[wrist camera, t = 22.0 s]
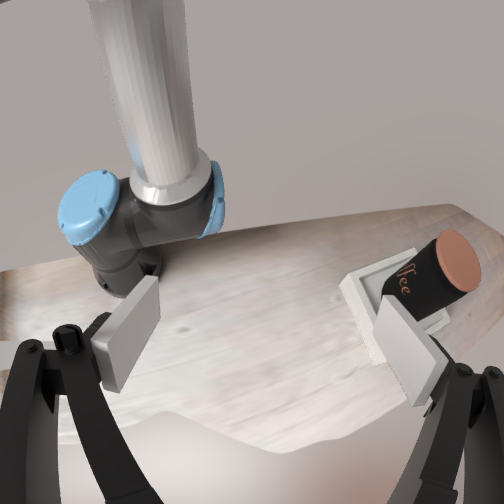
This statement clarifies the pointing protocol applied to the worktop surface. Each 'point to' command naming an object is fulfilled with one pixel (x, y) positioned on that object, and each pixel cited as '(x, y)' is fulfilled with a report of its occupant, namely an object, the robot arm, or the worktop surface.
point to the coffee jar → (435, 276)
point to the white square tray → (369, 300)
